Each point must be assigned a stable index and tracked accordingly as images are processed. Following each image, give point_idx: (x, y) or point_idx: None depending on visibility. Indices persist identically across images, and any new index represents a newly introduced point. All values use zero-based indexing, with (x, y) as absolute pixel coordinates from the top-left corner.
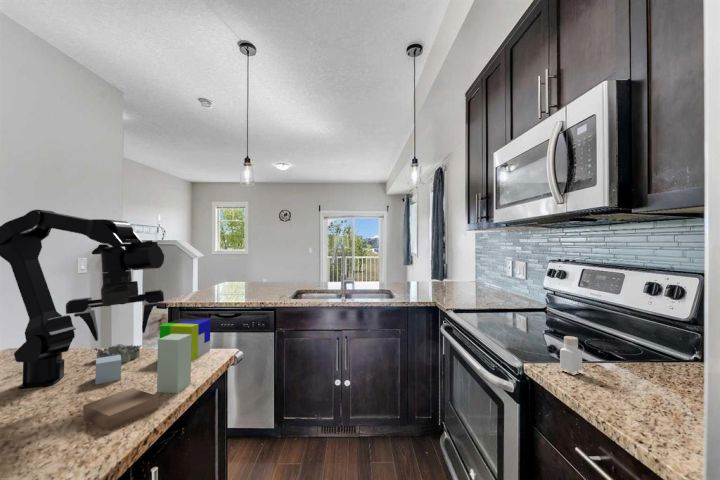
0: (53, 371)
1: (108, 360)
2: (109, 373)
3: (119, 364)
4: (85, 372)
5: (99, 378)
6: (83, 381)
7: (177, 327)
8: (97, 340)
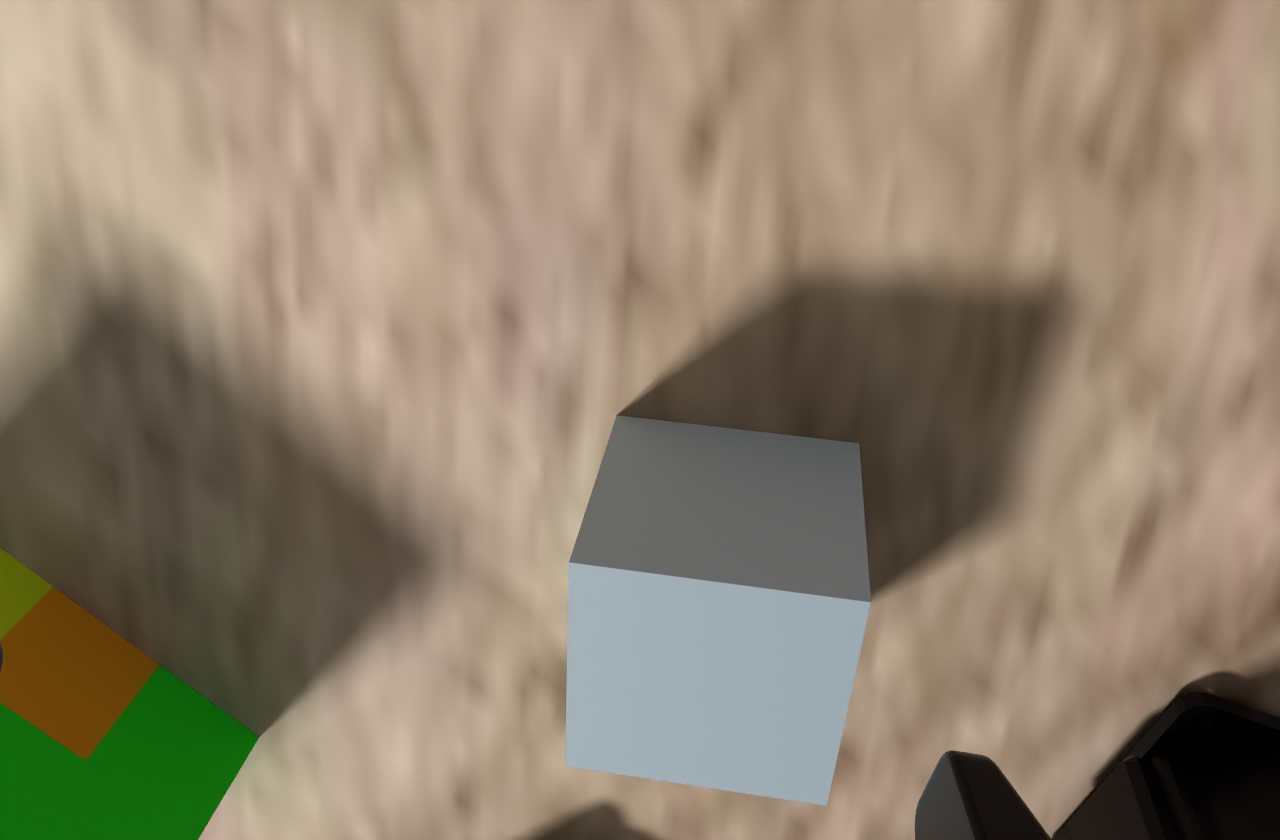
0: (1209, 838)
1: (714, 639)
2: (719, 484)
3: (601, 527)
4: (875, 820)
5: (821, 473)
6: (936, 608)
7: None
8: (948, 751)
